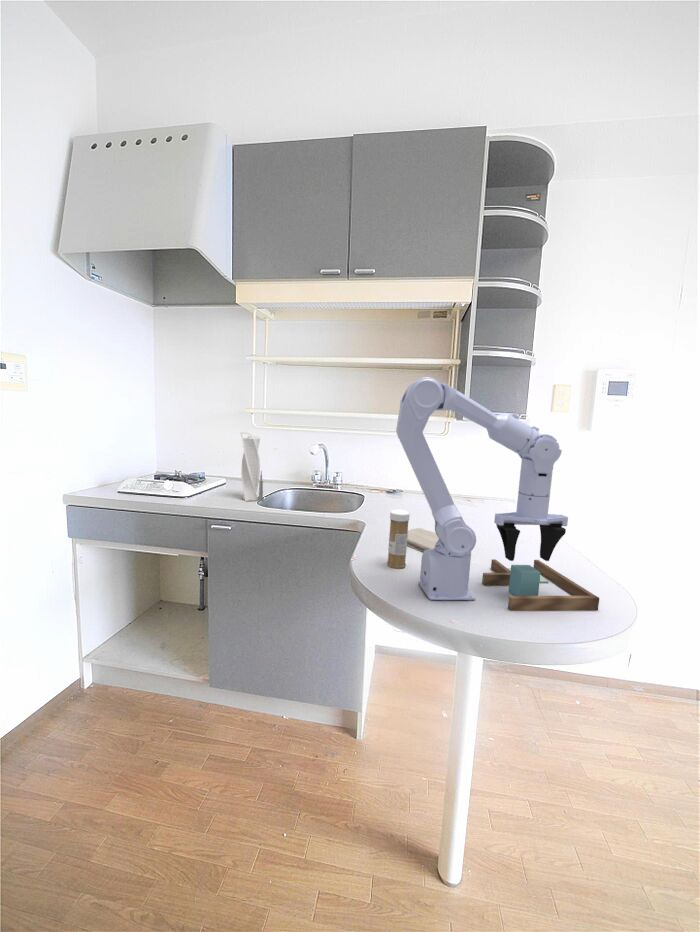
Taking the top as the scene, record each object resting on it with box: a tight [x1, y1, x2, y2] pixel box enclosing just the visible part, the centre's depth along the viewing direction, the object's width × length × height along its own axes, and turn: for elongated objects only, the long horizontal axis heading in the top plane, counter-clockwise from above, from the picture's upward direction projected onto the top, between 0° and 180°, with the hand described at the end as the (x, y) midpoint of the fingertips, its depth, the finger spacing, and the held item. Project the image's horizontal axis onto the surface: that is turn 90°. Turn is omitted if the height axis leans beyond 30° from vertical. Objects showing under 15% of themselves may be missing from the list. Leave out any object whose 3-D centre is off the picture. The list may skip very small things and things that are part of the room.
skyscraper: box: [240, 431, 265, 503], centre depth 154 cm, size 8×8×28 cm
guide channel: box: [481, 559, 600, 612], centre depth 82 cm, size 18×20×2 cm
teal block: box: [508, 564, 541, 596], centre depth 78 cm, size 4×4×6 cm
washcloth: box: [407, 527, 439, 553], centre depth 108 cm, size 12×18×3 cm, turn 37°
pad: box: [506, 567, 550, 584], centre depth 88 cm, size 8×8×1 cm
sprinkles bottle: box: [386, 509, 410, 569], centre depth 90 cm, size 5×5×13 cm
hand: (527, 559), depth 77 cm, fingers open, 7 cm apart
